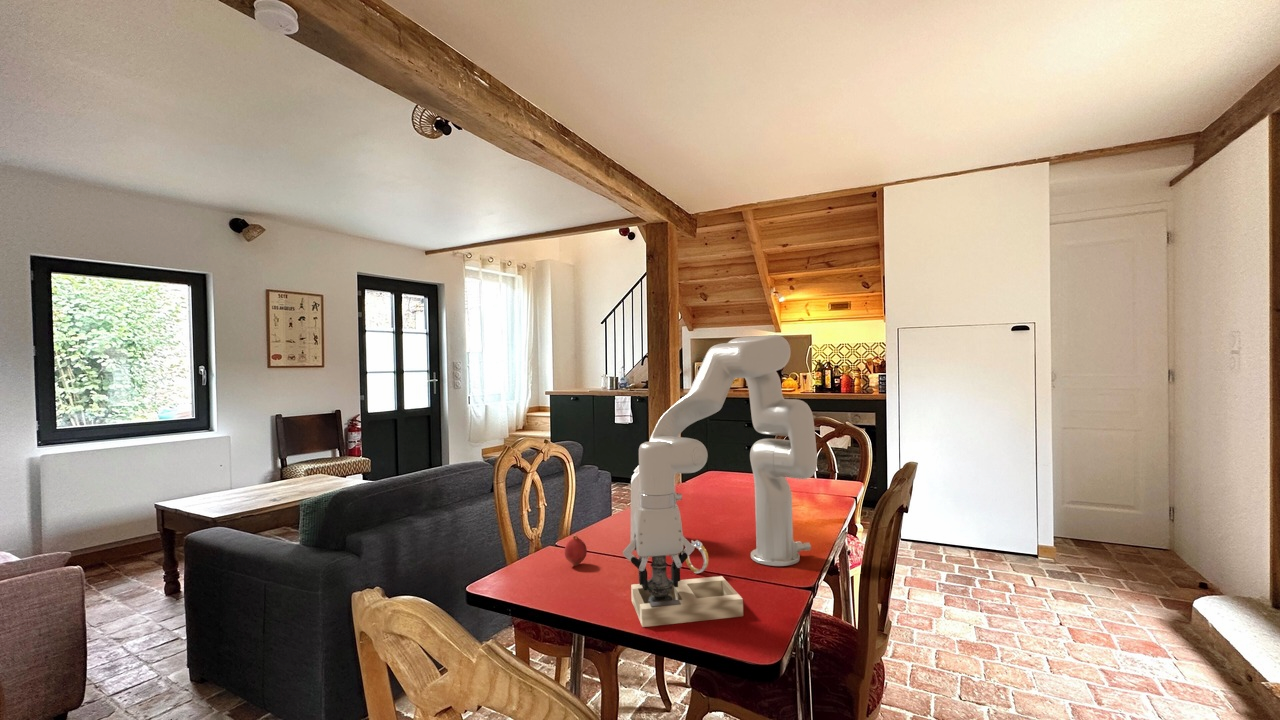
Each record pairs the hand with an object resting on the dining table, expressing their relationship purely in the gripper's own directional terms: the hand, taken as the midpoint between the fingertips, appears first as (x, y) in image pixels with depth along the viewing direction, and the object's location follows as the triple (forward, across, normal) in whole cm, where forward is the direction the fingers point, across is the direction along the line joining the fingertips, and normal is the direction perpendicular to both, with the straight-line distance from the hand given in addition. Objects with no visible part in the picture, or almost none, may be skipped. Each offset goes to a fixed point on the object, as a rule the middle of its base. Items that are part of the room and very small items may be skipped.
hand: (659, 585), depth 117 cm
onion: (+5, +16, -32) cm, 36 cm away
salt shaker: (+3, 0, 0) cm, 3 cm away
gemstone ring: (+5, -13, -19) cm, 24 cm away
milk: (+6, -7, -47) cm, 48 cm away
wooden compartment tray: (+5, -5, 0) cm, 8 cm away
